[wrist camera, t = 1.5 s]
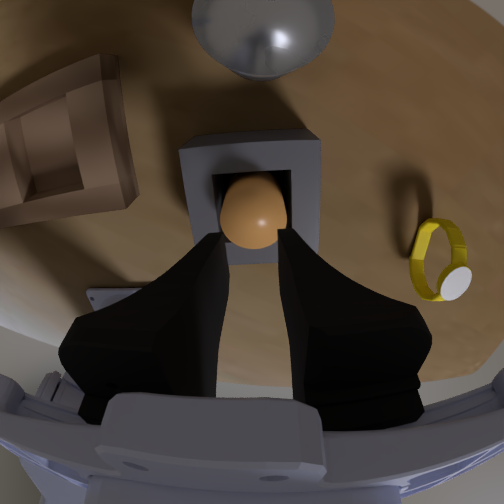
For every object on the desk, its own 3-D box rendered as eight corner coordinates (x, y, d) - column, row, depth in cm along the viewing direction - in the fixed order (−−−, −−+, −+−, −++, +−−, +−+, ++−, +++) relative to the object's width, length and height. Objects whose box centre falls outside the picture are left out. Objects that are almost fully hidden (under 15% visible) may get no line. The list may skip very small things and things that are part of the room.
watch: (421, 272, 22) (451, 319, 17) (395, 271, 22) (423, 321, 17) (444, 209, 19) (486, 249, 14) (417, 205, 19) (459, 246, 14)
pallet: (139, 194, 19) (126, 208, 17) (-31, 227, 20) (-44, 238, 18) (117, 55, 14) (99, 53, 12) (-53, 146, 15) (-69, 154, 13)
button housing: (307, 228, 20) (317, 260, 17) (208, 234, 21) (198, 266, 17) (307, 128, 17) (320, 139, 13) (194, 136, 17) (178, 149, 14)
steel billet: (303, 80, 15) (338, 75, 8) (223, 84, 15) (197, 81, 8) (298, 10, 13) (327, -39, 6) (217, 14, 13) (188, -33, 6)
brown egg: (282, 217, 18) (287, 247, 15) (229, 220, 18) (224, 250, 15) (280, 166, 16) (285, 187, 13) (224, 170, 16) (216, 191, 13)
